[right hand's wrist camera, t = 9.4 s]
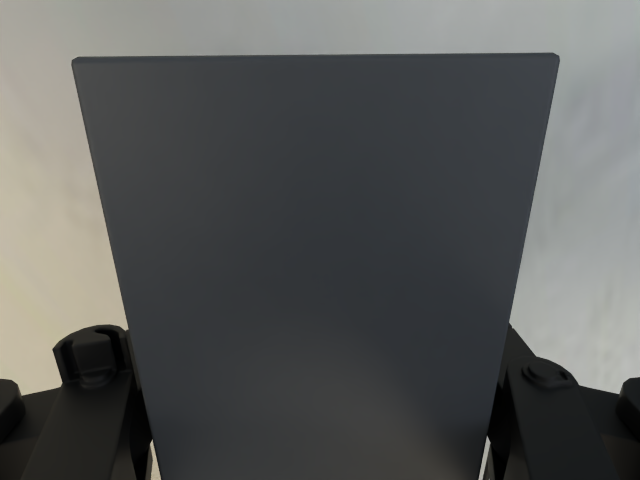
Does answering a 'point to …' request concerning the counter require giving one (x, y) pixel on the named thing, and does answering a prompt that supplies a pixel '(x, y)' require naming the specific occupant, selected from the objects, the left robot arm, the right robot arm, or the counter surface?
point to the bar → (317, 252)
